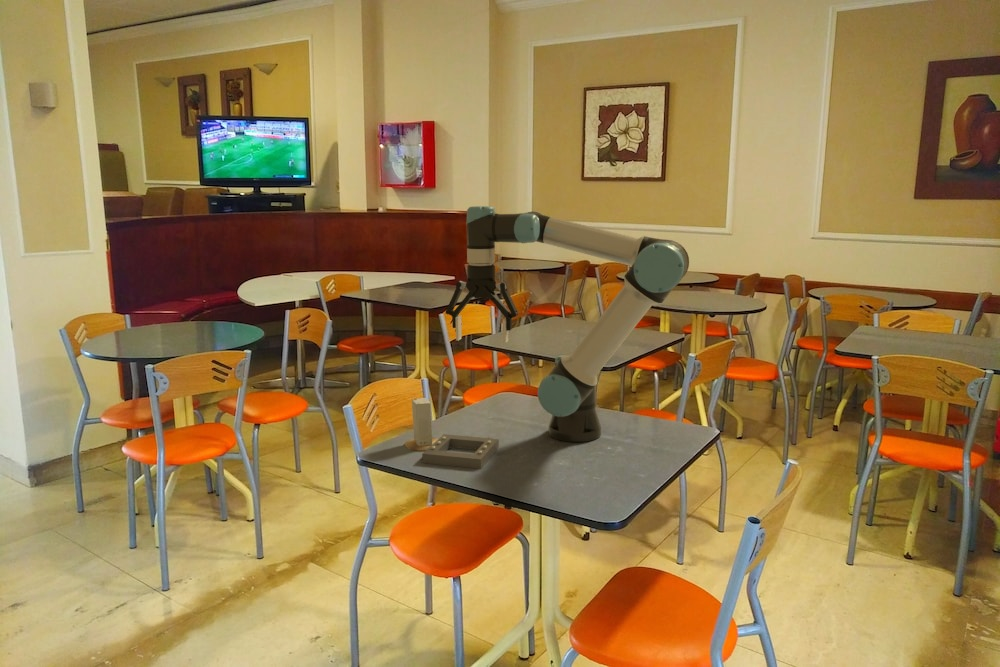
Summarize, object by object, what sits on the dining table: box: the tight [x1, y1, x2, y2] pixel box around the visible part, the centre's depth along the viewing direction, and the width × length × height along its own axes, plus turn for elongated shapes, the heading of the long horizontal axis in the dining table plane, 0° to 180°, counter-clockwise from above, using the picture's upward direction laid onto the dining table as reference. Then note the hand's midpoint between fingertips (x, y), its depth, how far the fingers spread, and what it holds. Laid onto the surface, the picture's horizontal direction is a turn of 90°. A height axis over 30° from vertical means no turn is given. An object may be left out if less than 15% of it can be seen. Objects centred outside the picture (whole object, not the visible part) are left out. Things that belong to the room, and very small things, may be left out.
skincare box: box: [411, 397, 433, 446], centre depth 206 cm, size 6×4×12 cm
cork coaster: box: [404, 436, 439, 452], centre depth 207 cm, size 10×10×1 cm
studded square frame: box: [422, 434, 500, 469], centre depth 199 cm, size 16×16×3 cm
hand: (482, 340), depth 205 cm, fingers open, 13 cm apart
